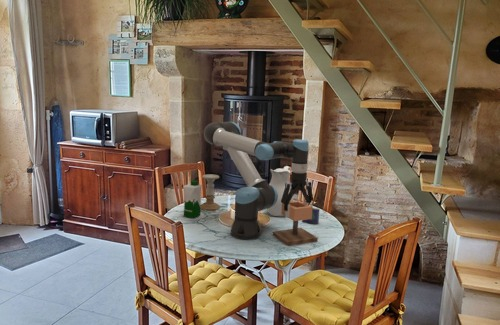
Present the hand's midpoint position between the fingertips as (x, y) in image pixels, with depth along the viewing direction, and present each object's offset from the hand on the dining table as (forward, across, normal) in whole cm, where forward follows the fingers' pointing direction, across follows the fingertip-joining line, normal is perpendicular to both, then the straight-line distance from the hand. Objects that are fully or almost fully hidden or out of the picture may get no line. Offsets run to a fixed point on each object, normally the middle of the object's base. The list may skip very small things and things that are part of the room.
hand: (296, 215), depth 185 cm
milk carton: (+12, -38, +49) cm, 63 cm away
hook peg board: (+12, 0, 0) cm, 12 cm away
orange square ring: (0, 0, 0) cm, 0 cm away
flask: (+12, +21, +17) cm, 30 cm away
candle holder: (+12, -23, +61) cm, 66 cm away
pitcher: (+12, +15, +40) cm, 44 cm away
